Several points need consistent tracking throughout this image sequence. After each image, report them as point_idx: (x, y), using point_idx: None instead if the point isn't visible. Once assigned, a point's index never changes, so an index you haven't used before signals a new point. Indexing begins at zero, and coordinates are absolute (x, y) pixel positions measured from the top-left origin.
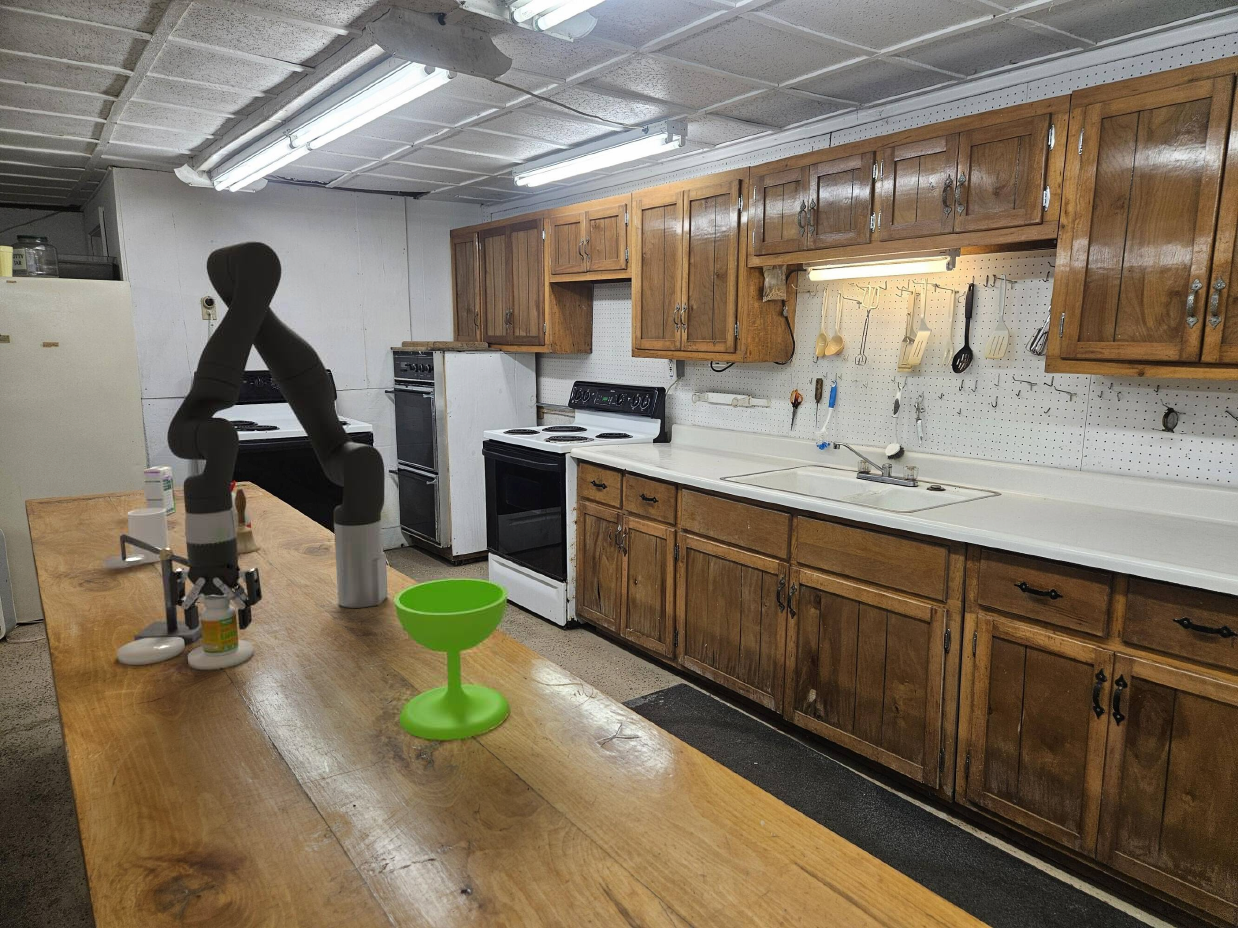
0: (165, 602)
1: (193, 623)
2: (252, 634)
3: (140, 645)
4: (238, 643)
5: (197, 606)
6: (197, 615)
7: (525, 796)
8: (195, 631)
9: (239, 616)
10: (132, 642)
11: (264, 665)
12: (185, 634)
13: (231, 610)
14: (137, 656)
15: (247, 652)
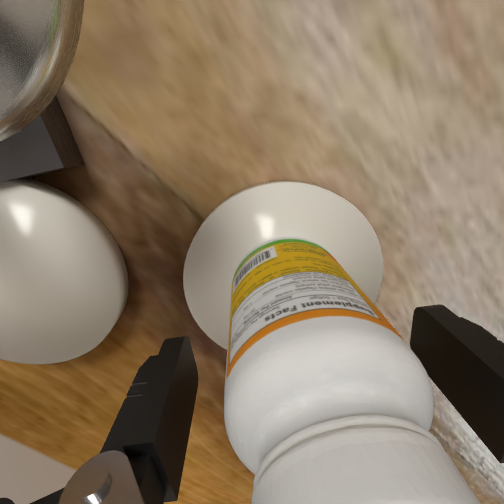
0: None
1: (192, 395)
2: (271, 34)
3: None
4: (310, 218)
5: (156, 434)
6: (175, 385)
7: None
8: (43, 129)
9: (467, 412)
10: None
11: (432, 303)
12: (32, 171)
13: (428, 425)
14: (51, 353)
15: (378, 283)
